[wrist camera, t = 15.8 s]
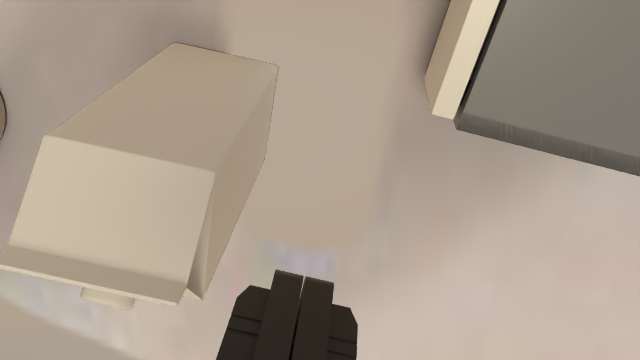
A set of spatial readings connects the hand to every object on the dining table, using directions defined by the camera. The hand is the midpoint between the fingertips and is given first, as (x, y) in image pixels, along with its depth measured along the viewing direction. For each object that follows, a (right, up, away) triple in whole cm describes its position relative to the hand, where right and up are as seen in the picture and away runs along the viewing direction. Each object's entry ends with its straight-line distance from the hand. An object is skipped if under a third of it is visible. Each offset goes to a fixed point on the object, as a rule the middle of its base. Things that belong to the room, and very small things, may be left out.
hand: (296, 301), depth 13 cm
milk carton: (-6, +8, +23) cm, 25 cm away
